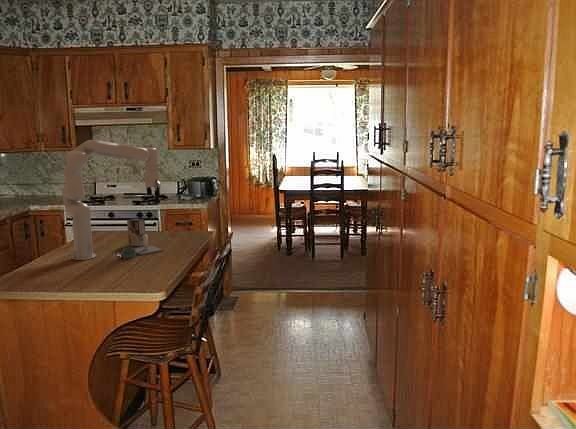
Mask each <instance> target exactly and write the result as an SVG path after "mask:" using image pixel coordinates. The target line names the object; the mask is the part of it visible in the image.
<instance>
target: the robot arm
mask: <svg viewBox="0 0 576 429" xmlns="http://www.w3.org/2000/svg"><path fill="white" fill-rule="evenodd" d="M91 156H99V157H107V158H114V159H126V160H134V161H139V162H144V170H145V172H144V186H145V189H146V196H153V190H152V188H154V197H155V198H159V197H161V192H160V190H161V185H162V184H161V182H160V175H159V165H158V164H159V163H158V162H159V161H158V151H157V148H156V147H146V148H143V147H140V146H139V147H138V146H132V145H131V146H130V145H125V144H123V143H122V144H121V143H117V142H116V143H115V142H110V141H104V140H100V139H99V140H98V139H88V140H86V141H84V142H83V143H81V144H80V145H78V146H77V147H75V148H73V149H72V150H70V151H69V152H68V153H67V155H66V158H65V159H66V165H65V167H64V172H63V174H64V182H65V184H64V185H63V187H62V189H61V196H62V201H63V204H64V209H65V212H66V214H67V215H68V216H69V217H71V218H72V235H73V246H74V248H73V249H74V250H72V251H71V252H67V253H65V256H66V257H70V258H72V260H74V261H85V260H90V259H91V260H92V259H94V258H96V257H97V254H96V253H95V252H94V249H93V237H92V236H93V235H92V228H91V227H92V225H91V224H92V223H91V219H92V218H91V217H92V211H91V208H90V206H89V205H88V204H87V203H84V202H82V200H83V199H84V197H85V195H86V193H85V187H84V183H83V178H82V170H83V168H84V167H85V166H86V165H87V164H88V162H89V158H90V157H91Z"/></svg>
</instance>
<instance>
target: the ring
mask: <svg viewBox="0 0 576 429" xmlns="http://www.w3.org/2000/svg"><path fill="white" fill-rule="evenodd" d="M135 249H136V248H134V247H125V248H122V250H121V251H122V258H123V259H132V258H133V259H134V258H136V257H137V254H136V253H135Z"/></svg>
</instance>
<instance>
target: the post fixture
mask: <svg viewBox="0 0 576 429" xmlns="http://www.w3.org/2000/svg"><path fill="white" fill-rule="evenodd" d="M143 239H144V245H143V247H142V246H141V247H137V248H135V253H136V255H139V256H145V255H146V256H147V255H150V254H151V255H152V254H156V253H162V252H163V251H164V250H163V248H159V247H156V246H154V245H149V237H148V234H145V235H143Z"/></svg>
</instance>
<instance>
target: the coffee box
mask: <svg viewBox="0 0 576 429" xmlns="http://www.w3.org/2000/svg"><path fill="white" fill-rule="evenodd" d="M145 222H146V221H145V218H130V219H127V220H126V223H127V226H126V227H127V235H128V246H137V247H142V246H144V239H143V235H145V234H146V223H145Z"/></svg>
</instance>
